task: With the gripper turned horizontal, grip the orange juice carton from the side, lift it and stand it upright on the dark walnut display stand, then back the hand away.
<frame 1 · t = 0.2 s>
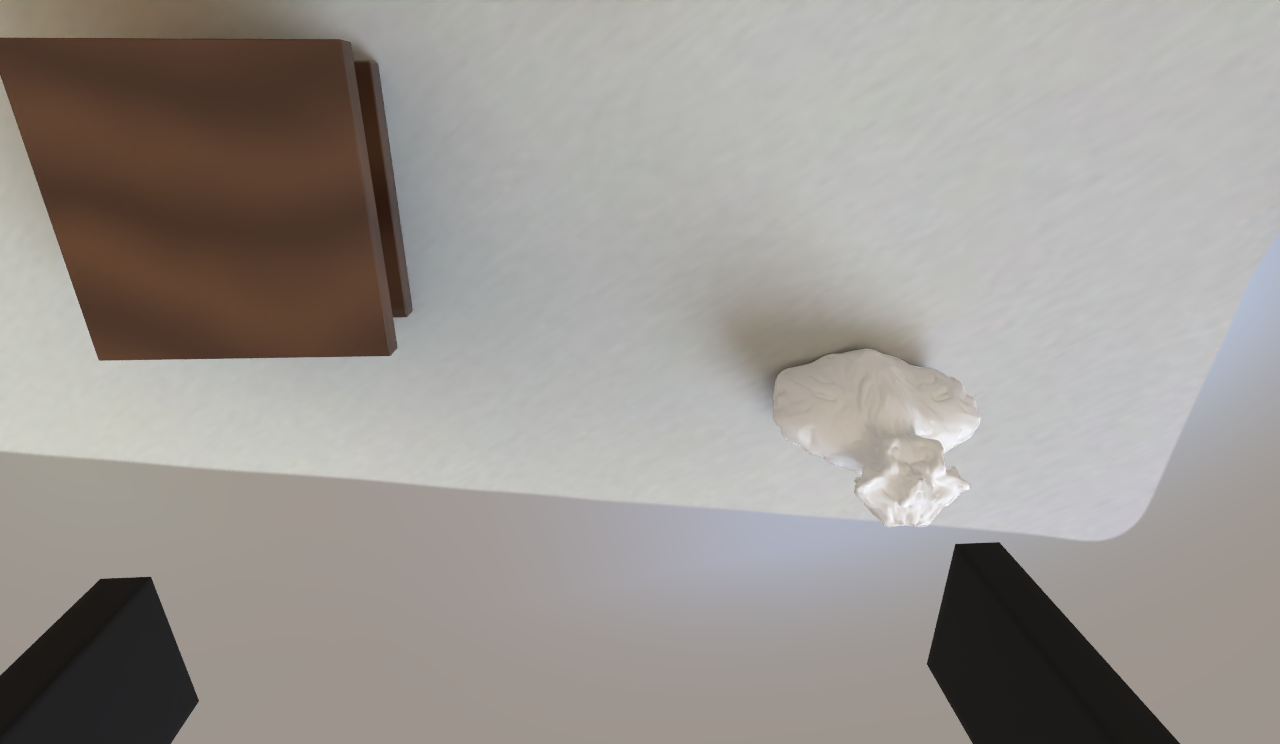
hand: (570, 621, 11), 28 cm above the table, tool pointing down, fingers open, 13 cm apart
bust: (849, 394, 41), on the table
stand: (274, 196, 34), on the table
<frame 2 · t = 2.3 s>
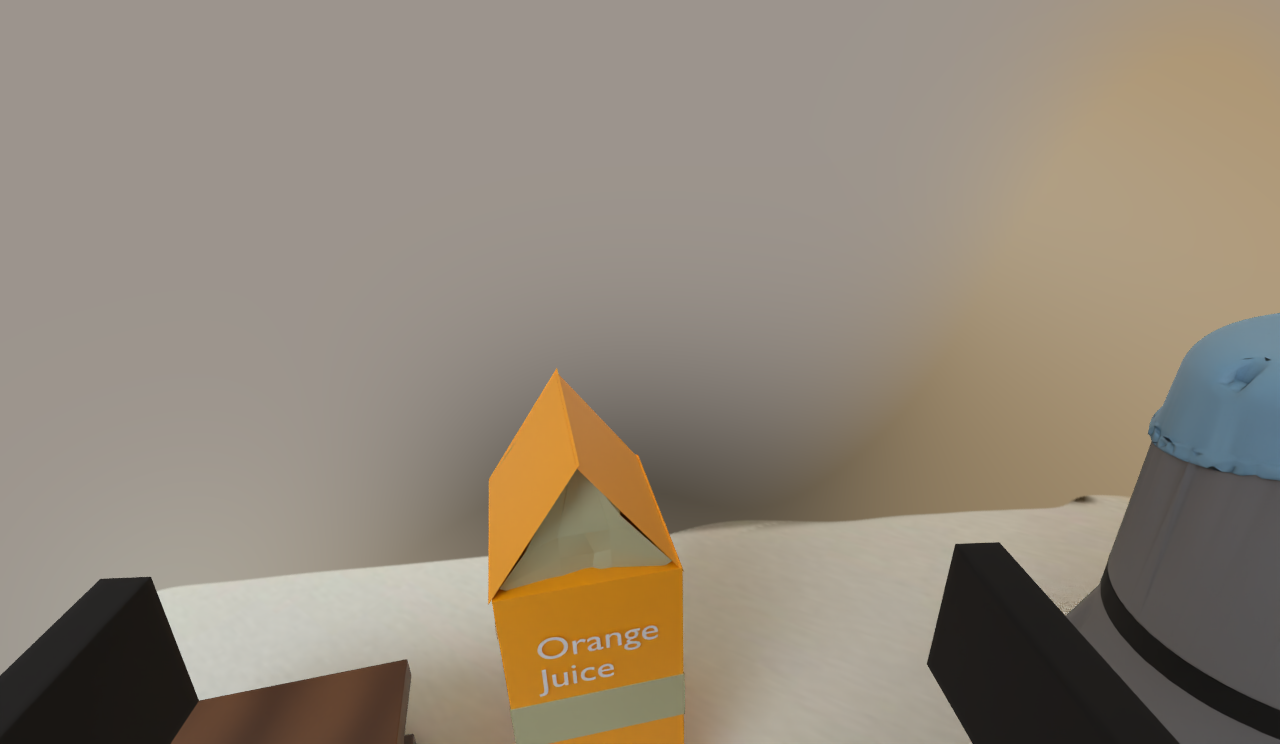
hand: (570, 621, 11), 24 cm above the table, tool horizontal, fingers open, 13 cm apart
orange juice: (596, 734, 35), on the table
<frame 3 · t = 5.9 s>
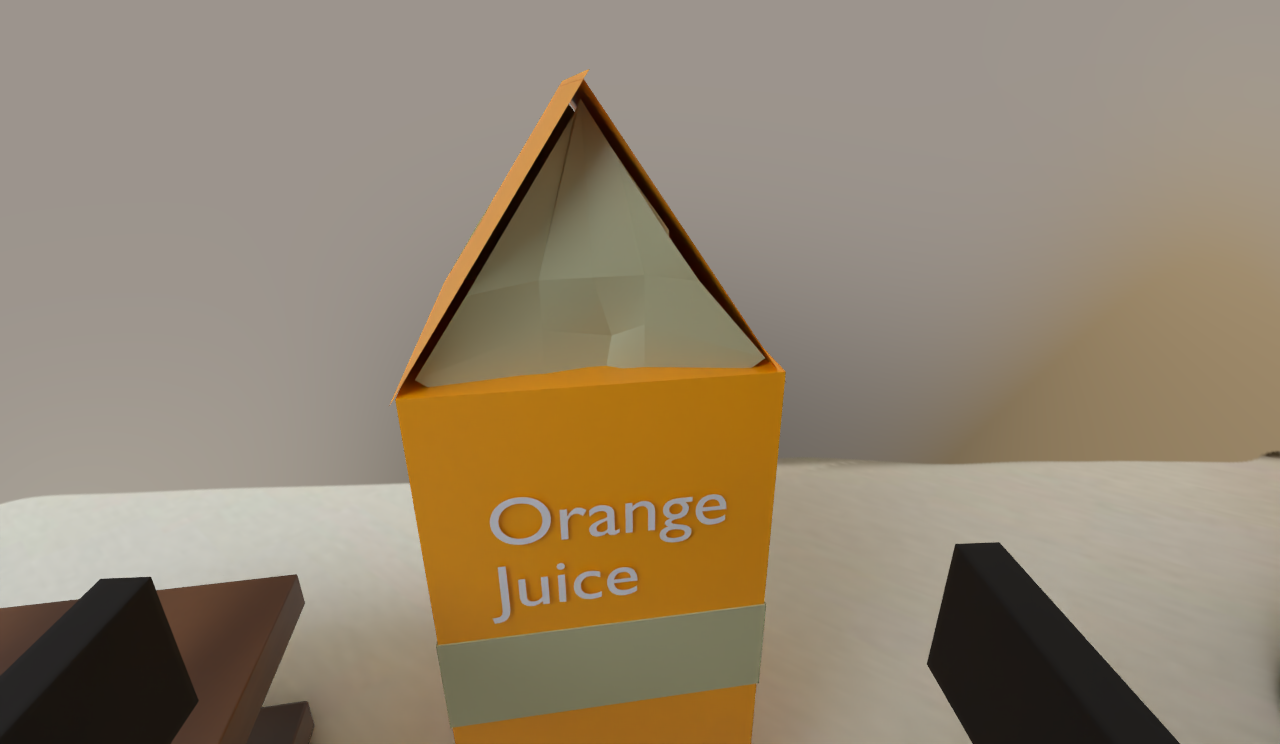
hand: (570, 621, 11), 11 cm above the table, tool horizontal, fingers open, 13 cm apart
orange juice: (598, 723, 22), on the table
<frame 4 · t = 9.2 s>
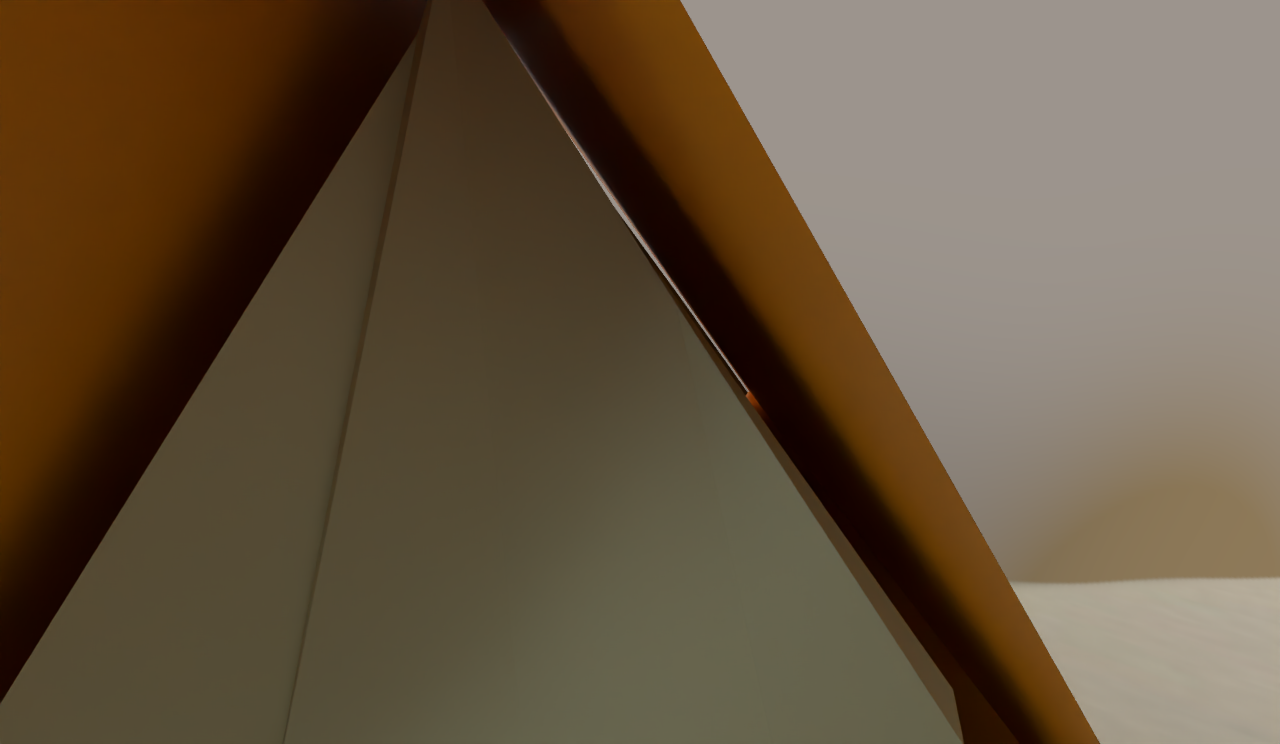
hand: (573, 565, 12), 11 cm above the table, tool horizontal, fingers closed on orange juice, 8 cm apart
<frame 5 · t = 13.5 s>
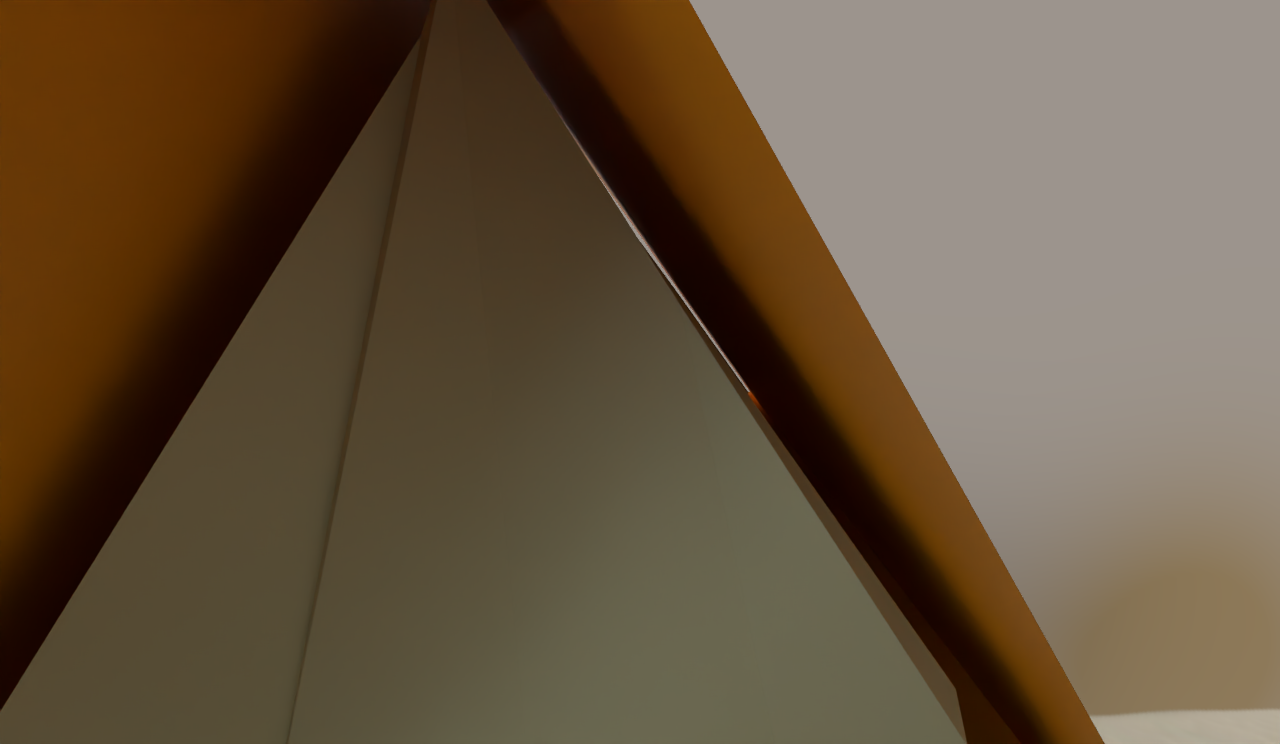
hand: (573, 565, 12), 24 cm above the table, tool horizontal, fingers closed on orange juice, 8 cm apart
when the fingers open (17 cm above the table, at t = 17.8 s): orange juice stays where it is, resting on stand.
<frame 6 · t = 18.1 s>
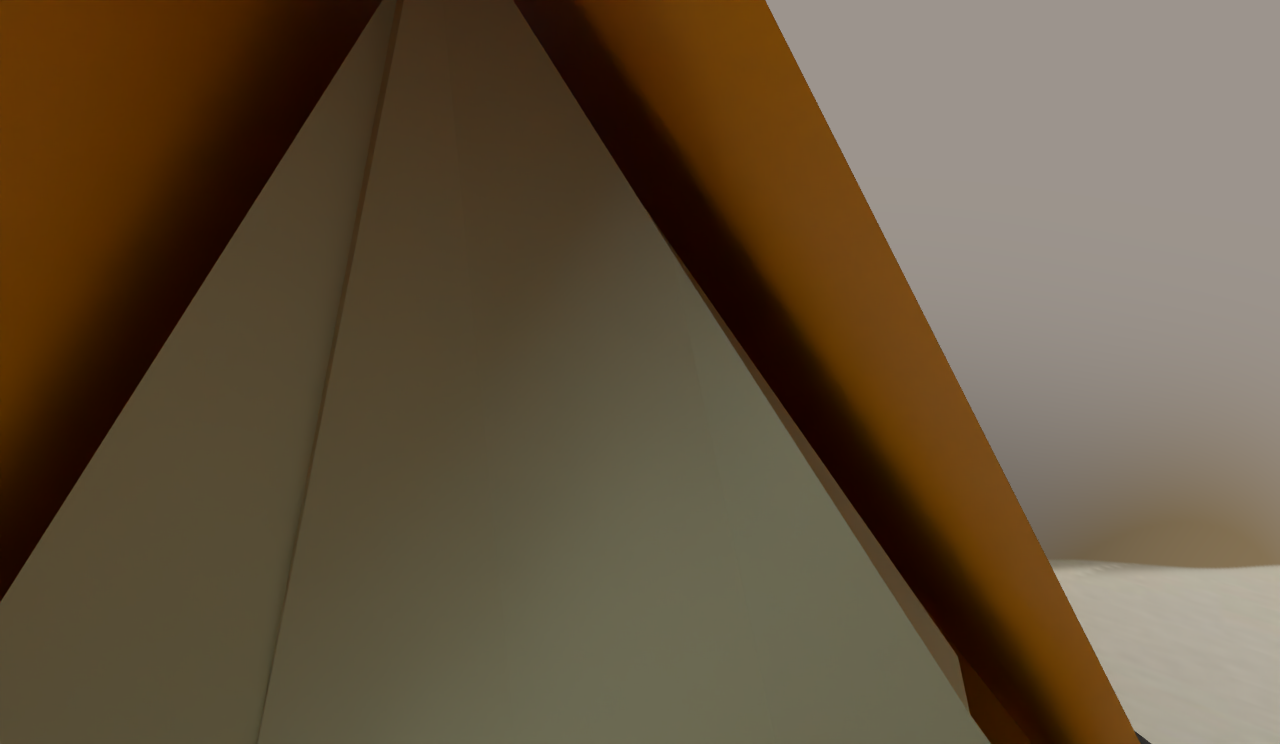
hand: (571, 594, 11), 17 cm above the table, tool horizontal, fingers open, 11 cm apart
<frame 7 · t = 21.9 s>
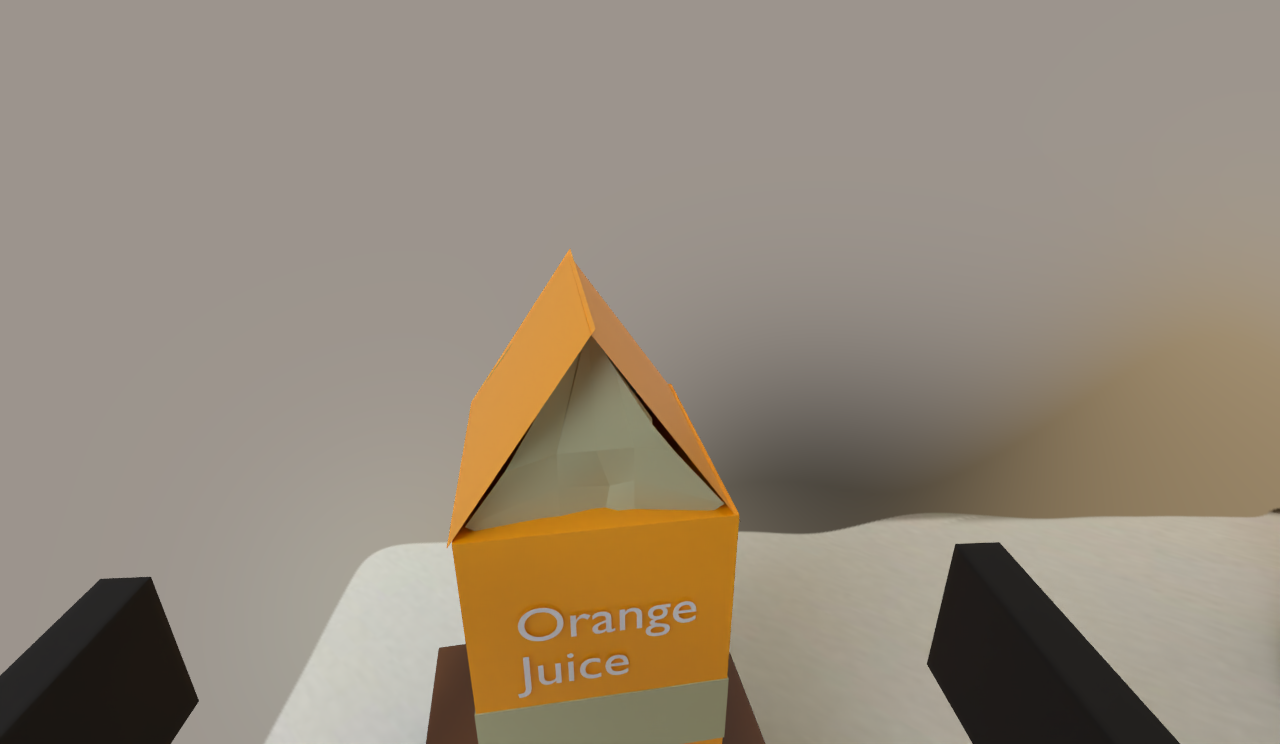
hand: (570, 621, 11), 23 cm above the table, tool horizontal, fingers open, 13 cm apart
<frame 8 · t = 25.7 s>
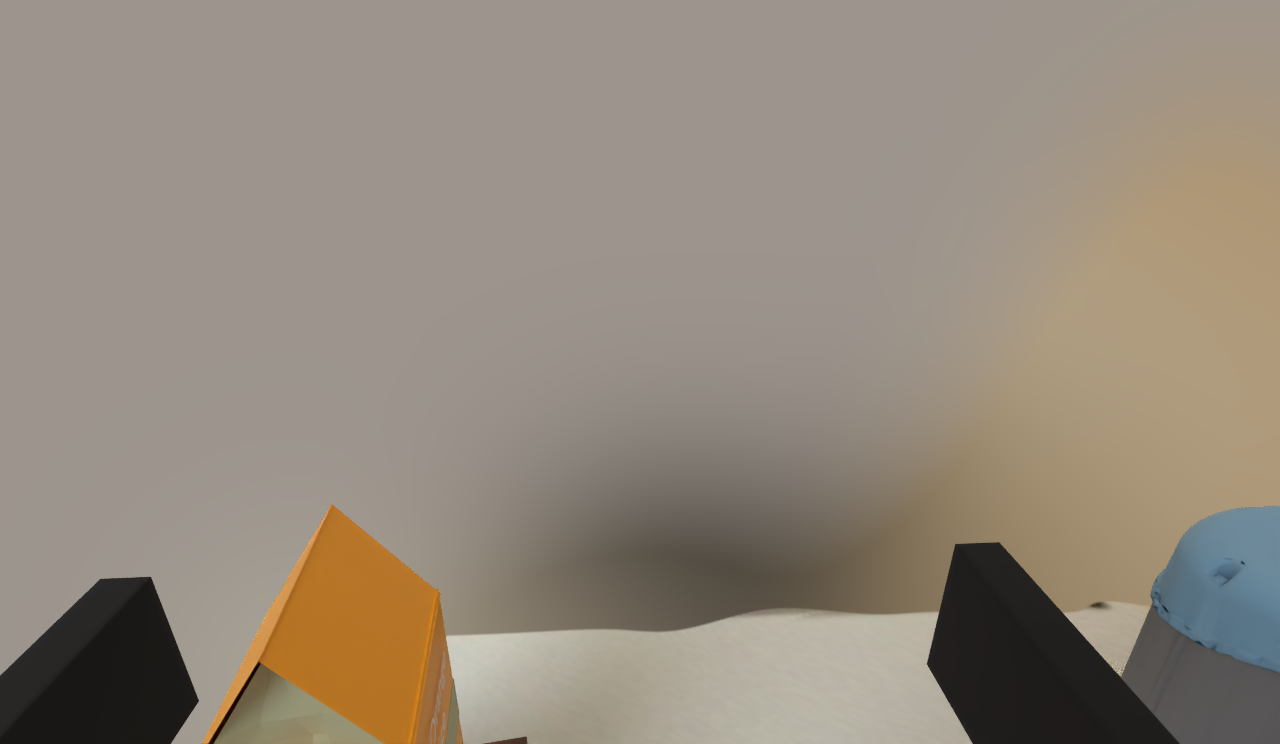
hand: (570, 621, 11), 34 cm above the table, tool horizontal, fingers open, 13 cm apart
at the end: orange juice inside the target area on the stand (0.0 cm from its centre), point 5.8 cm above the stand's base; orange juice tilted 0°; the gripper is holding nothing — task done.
